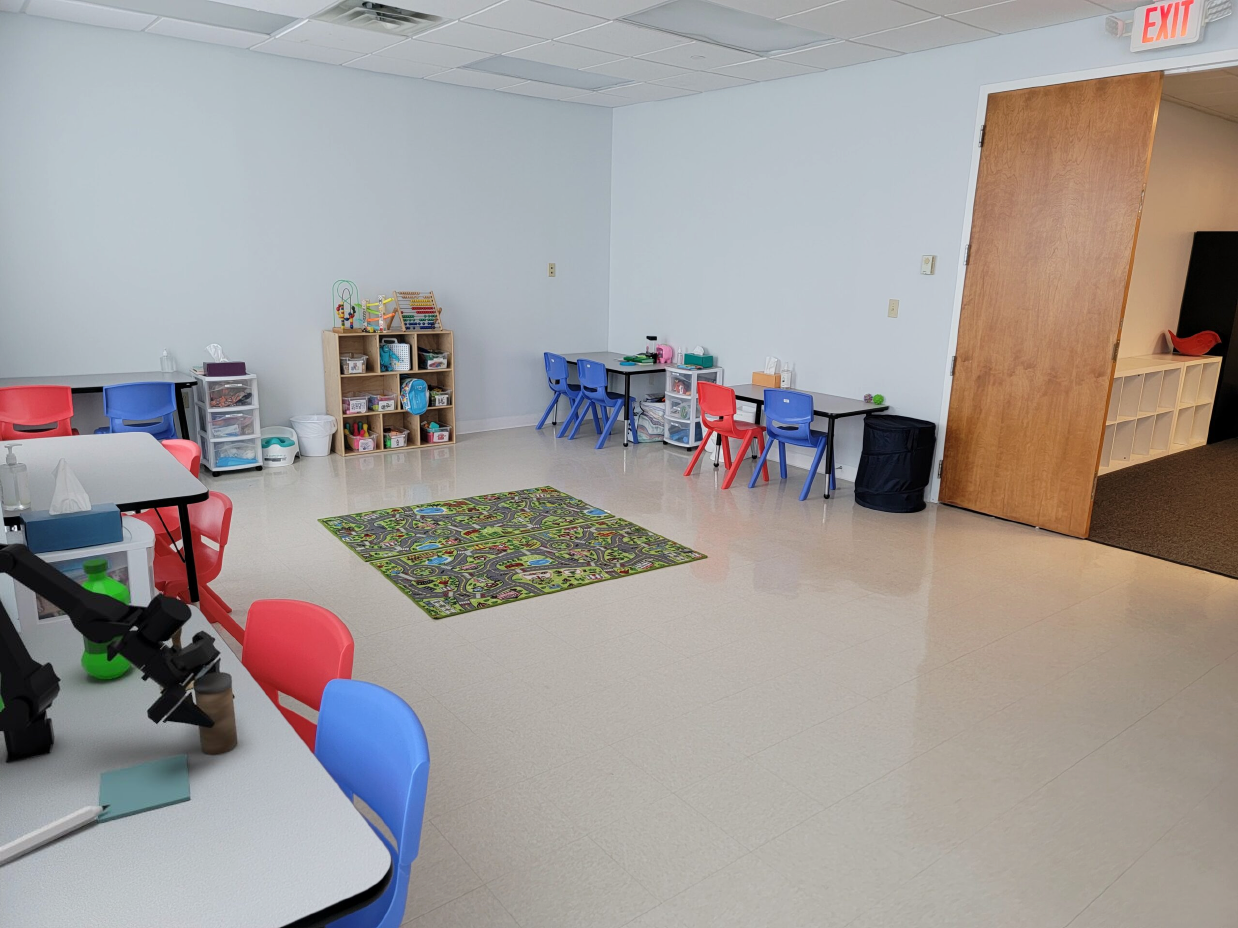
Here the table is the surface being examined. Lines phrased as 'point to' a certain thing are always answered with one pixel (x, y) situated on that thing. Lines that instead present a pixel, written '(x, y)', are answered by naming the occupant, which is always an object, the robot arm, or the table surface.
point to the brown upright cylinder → (216, 712)
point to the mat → (143, 787)
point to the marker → (49, 833)
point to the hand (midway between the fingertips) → (223, 712)
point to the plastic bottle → (97, 653)
